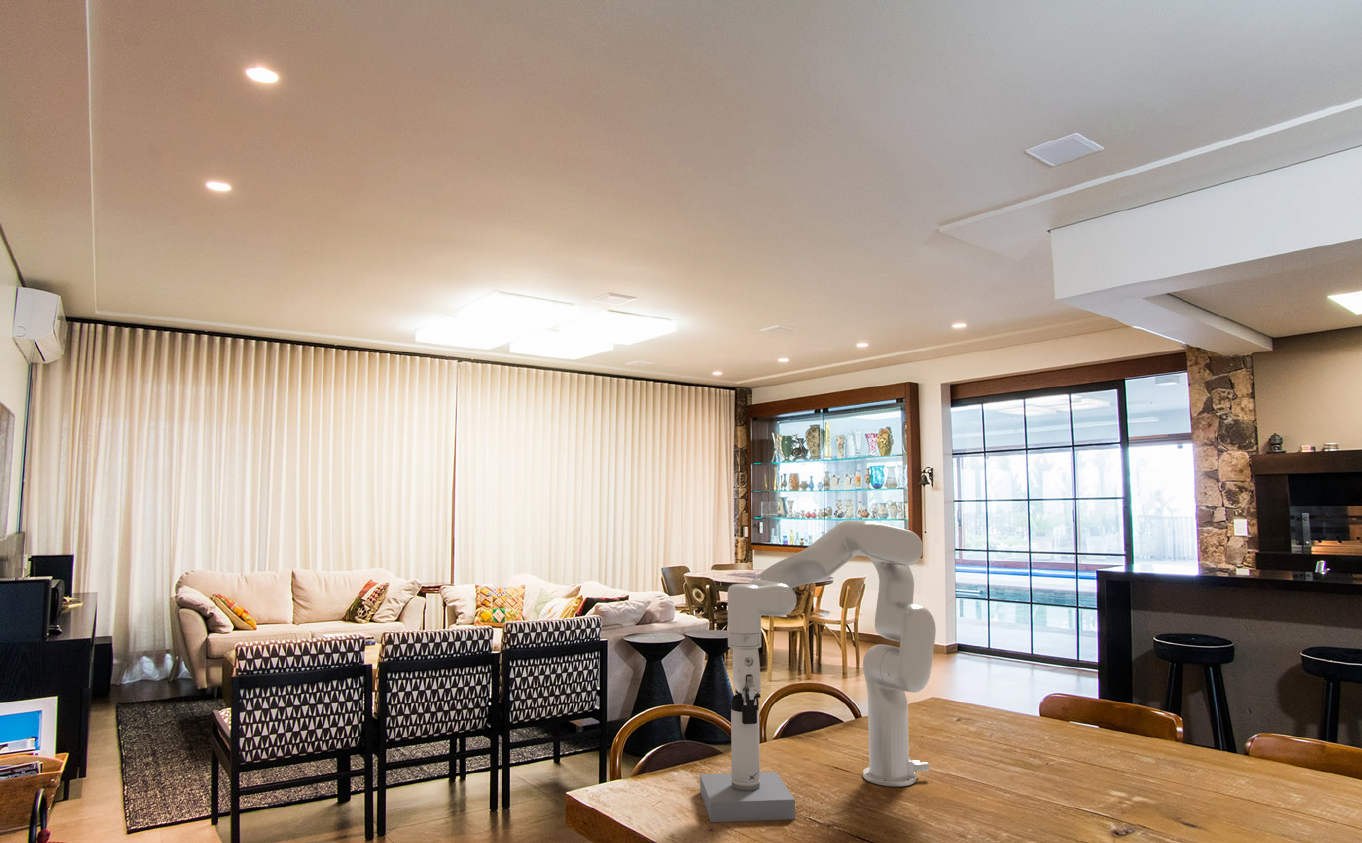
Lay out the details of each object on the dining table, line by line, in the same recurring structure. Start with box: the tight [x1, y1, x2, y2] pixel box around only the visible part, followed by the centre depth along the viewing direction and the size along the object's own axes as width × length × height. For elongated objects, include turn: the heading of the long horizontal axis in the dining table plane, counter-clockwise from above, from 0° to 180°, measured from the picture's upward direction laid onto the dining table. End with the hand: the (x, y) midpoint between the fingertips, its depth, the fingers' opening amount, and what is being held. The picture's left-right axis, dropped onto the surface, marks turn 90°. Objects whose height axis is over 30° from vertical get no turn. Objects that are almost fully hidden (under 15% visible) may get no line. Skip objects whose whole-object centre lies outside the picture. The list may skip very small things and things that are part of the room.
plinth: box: [699, 771, 796, 823], centre depth 179 cm, size 18×18×4 cm
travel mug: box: [730, 692, 762, 791], centre depth 181 cm, size 6×7×20 cm
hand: (745, 717), depth 181 cm, fingers open, 9 cm apart
